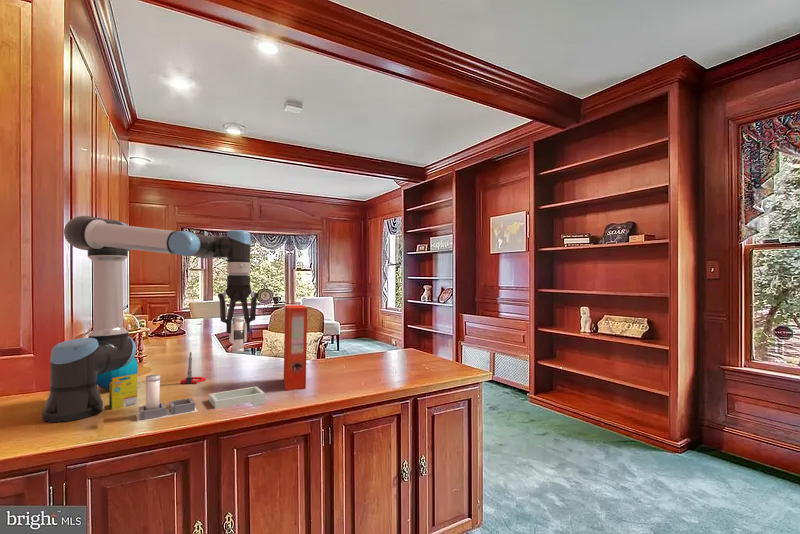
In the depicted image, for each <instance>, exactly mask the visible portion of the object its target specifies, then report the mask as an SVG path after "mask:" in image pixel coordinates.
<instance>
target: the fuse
mask: <svg viewBox="0 0 800 534" xmlns="http://www.w3.org/2000/svg"><path fill="white" fill-rule="evenodd" d="M145 382H146V383H145V405H146V410H152V409H158V408H159V403H160V402H161V401H160V397H161V396H160V392H161V389H160V388H161V374H151V375H150V374H149V375H147V376H145Z"/></svg>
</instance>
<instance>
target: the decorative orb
mask: <svg viewBox="0 0 800 534" xmlns="http://www.w3.org/2000/svg"><path fill="white" fill-rule="evenodd" d="M138 370H139V362H138V360H137V358H136V357H135V356H134V358H133V360H132V361H131V362H130V363H129V364H127V365H126V366H124V367H121V368H120V369H117V370H112V371H109V372H105V373H102V374H99V375H97V387H99V388H101V389H103V390H104V389H105V390H109V383H111V382H112V378H116V377H121V376H127V375H133V374H137V375H138ZM126 379H130V377H127V378H126V377H124V378H122V379H119V380H120V381H121V380H126Z"/></svg>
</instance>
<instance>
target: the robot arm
mask: <svg viewBox="0 0 800 534" xmlns="http://www.w3.org/2000/svg"><path fill="white" fill-rule="evenodd" d="M63 235H64V238H65V240H66V242H67V243H68V245H69V244H70V245H71V247H73V248H76V249H78V250H81V251H82V250H83V251H87V258H88V259H90V260H91V261H92V276H93V277H92V278H93V280H92V282H93V284H92V286H93V288H92V289H93V293H92V295H93V296H92V297H93V329H92V331H91V332H90V333H88V335H87V337H81V338H76V339H69V340H65V341H61V342H60V343H57V344H55V345H54V346H52V348H51V352H50V353H51V354H50V359H49V361H50V370H49V371H50V374H49V375H50V376H49V378H50V382H49V383H50V386H49V394H48V397H47V399H46V402H45V404H44V407H43V409H42V412H41V420H42V421H43V420H44V421H43V422H45V421H48V422H47V423H61V421H64V422H70V421H71V420H72V421H75V420H81V419H85V418H88V417H92V416H95V415H97V414H99V413H101V412H102V411H103V410H104V402H103V399H102V396H101V394H100V391H99V389H98V385H97V375H99V374H102V373H105V372H109V371H112V370H117V369H120V368H121V367H124V366H126V365H127V364H129V363H130V362H131V361H132V360H133V358H134V357H135V356H136V352H137V344H136V342H135V341H134V340H133V338H132V337H131V336H129V330H127V329H126V328H125V327H124V264H123V262H124V261H125V260H126V259H127V258H128V257H129V256H128V253H129V251H131V250H132V251H135V250H136V251H141V252H150V253H151V252H153V253H161V254H169V255H170V254H171V255H176V256H177V255H178V256H181V257H183V256H184V257H195V258H198V259H199V258H201V259H215V258H216V259H220V258H223V259H226V262H227V264H226V267H227V268H226V272H227V274H228V275H227V276H226V289H225V290H224V291H223V292H221V293H218V294H217V298H218V300H219V309H220V310H219V311H220V312H219V315H220V317H219V319H220V322H222V323H225V324H226V327H225V328H226V333H227V334H229V336H228V337H229V339H228V340H229V341H228V342H229V343H230V344H232V343H234V324H233V321H232V318H233V317H234V312H235V306H236V303H237V302H240V303H241V308H242V312H243V317H244V343H247V340H248V336H247V335H248V332H250V330H251V329H250V327H251V325H250V323H251V322H253V321H256V316H257V315H256V314H257V300H258V297H259V296H260V295H259V293H258V292H255V291H252V289H251V275H250V274H251V245H252V243H251V234H250V232H249V231H247V230H241V229H231V230H228V231H227V234H226V235H225V236H214V235H213V236H212V235H208V234H207V235H205V234H200V233H194V232H191V231H186V230H183V231H179V230H178V231H177V230H170V229H161V228H160V229H159V228H152V227H145V226H144V227H141V226H133V225H128V224H126V223H124V222H121V221H118V220H114V219H108V218H101V217H96V216H90V215H81V216H80V215H79V216H76V217H73V218H72V219H70V220H68V221H67V223H66V224H65V226H64V229H63ZM226 297H228V298H229V306H228V311H227V314H226ZM249 297H250V298H251V300H250V312H249V308H248V300H247V299H248V298H249Z"/></svg>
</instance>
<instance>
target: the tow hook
mask: <svg viewBox="0 0 800 534" xmlns="http://www.w3.org/2000/svg"><path fill="white" fill-rule="evenodd" d="M188 356H189V357H188V365H187V367H188V369H187V376H186V377H185V378H183V379H181V380H180V384H183V385H184V384H185V385H193V384H194V385H195V384H196V385H197V384H198V383H200V382H205V380H206V377H204V376H192V372H193V371H192V366H193V365H192V364H193V357H192V352H191V351H190V352H189V354H188Z"/></svg>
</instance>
